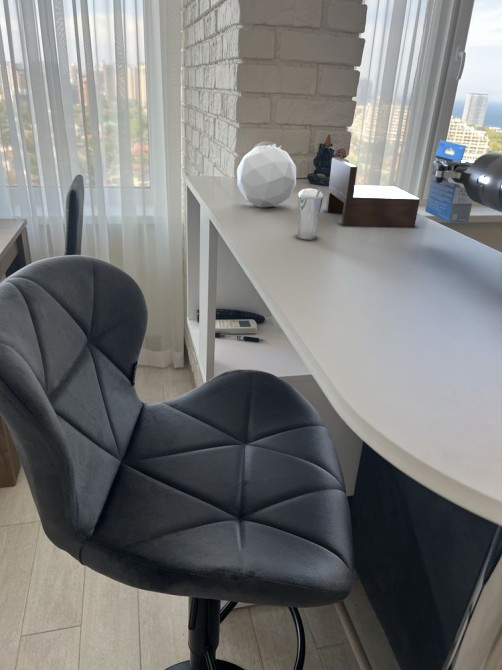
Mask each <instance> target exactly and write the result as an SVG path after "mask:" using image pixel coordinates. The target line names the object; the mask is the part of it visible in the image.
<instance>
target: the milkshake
mask: <svg viewBox="0 0 502 670" xmlns="http://www.w3.org/2000/svg"><path fill="white" fill-rule="evenodd" d="M321 190H322V187H321V186H320V187H319V186H318V189H315V188H312V187H311V188H310V187H309V188H302V189H301V190H300V191H298V194H297V195H298V227H297V238H299V239H301V240H306V241H307V240H309V241H311V240H315V238H316V236H317V235H316V234H317V229H318V223H319V217H320V213H321V208H322V204H323V199H324V194H323V192H321Z"/></svg>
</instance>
